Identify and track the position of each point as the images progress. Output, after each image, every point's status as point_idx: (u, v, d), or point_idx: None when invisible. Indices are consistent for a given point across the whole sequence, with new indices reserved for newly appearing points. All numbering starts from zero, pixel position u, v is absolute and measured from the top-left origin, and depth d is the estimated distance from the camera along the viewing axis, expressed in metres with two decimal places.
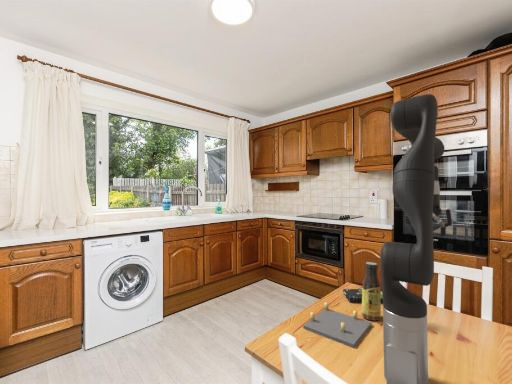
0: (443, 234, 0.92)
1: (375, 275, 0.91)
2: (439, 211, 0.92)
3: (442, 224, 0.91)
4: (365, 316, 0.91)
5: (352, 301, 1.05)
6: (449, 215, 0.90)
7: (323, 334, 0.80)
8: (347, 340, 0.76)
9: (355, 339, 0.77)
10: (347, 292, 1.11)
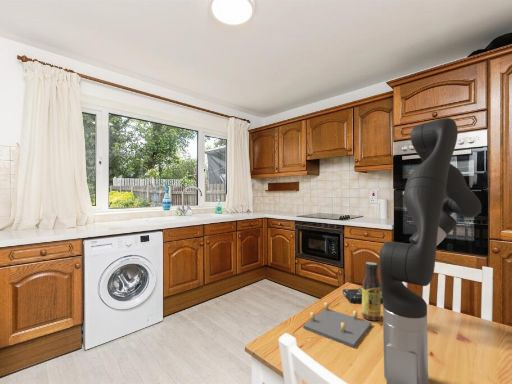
0: None
1: (375, 275, 0.91)
2: None
3: None
4: (365, 316, 0.91)
5: (353, 301, 1.05)
6: None
7: (323, 334, 0.80)
8: (347, 340, 0.76)
9: (355, 339, 0.77)
10: (347, 292, 1.11)
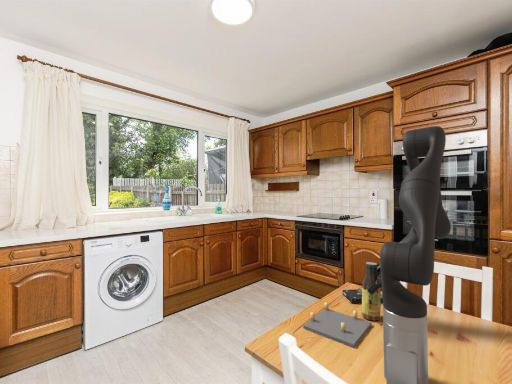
0: (370, 289, 0.89)
1: (375, 275, 0.91)
2: None
3: (376, 281, 0.89)
4: (365, 316, 0.91)
5: (354, 302, 1.04)
6: None
7: (323, 334, 0.80)
8: (347, 340, 0.76)
9: (355, 339, 0.77)
10: (347, 293, 1.10)
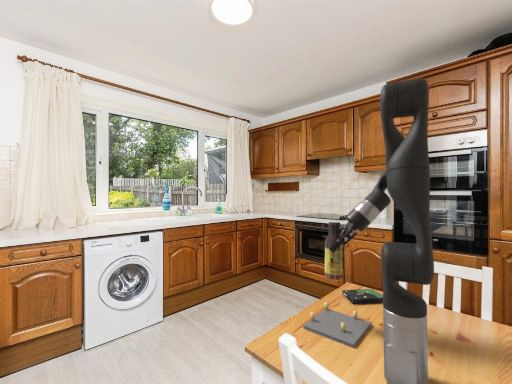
0: (331, 246, 0.86)
1: (337, 233, 0.88)
2: (349, 228, 0.86)
3: (338, 238, 0.86)
4: (327, 276, 0.88)
5: (355, 302, 1.04)
6: (347, 232, 0.83)
7: (323, 334, 0.80)
8: (347, 340, 0.76)
9: (355, 339, 0.77)
10: (347, 293, 1.10)
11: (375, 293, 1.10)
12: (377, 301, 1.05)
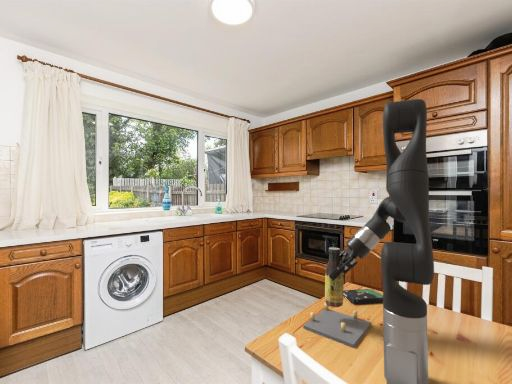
0: (331, 274, 0.86)
1: (337, 260, 0.88)
2: (349, 256, 0.86)
3: (338, 266, 0.86)
4: (327, 303, 0.88)
5: (356, 303, 1.03)
6: (347, 261, 0.83)
7: (323, 334, 0.80)
8: (347, 340, 0.76)
9: (355, 339, 0.77)
10: (348, 294, 1.09)
11: (375, 293, 1.10)
12: (377, 301, 1.05)
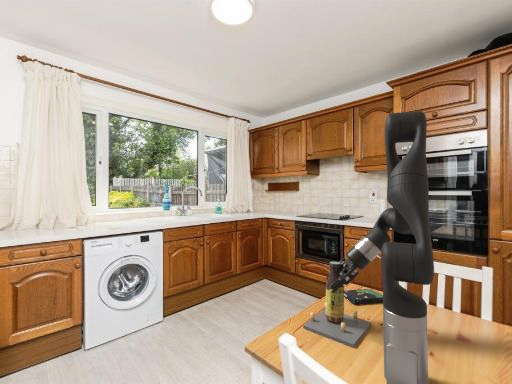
0: (333, 285, 0.85)
1: (338, 275, 0.88)
2: (349, 267, 0.85)
3: (339, 277, 0.85)
4: (328, 318, 0.88)
5: (356, 303, 1.03)
6: (348, 272, 0.83)
7: (323, 334, 0.80)
8: (347, 340, 0.76)
9: (355, 339, 0.77)
10: (348, 294, 1.09)
11: (375, 293, 1.10)
12: (377, 301, 1.05)
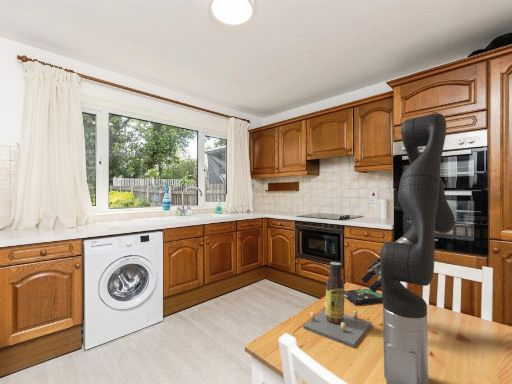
0: (372, 286, 0.84)
1: (338, 276, 0.88)
2: None
3: (379, 277, 0.84)
4: (328, 318, 0.88)
5: (357, 303, 1.03)
6: None
7: (323, 334, 0.80)
8: (347, 340, 0.76)
9: (355, 339, 0.77)
10: (348, 294, 1.09)
11: (374, 293, 1.10)
12: (378, 301, 1.05)
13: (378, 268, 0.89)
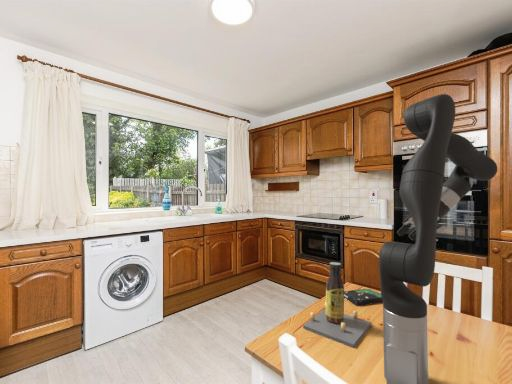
0: (412, 234, 0.82)
1: (338, 276, 0.88)
2: None
3: None
4: (328, 318, 0.88)
5: (358, 304, 1.02)
6: None
7: (323, 334, 0.80)
8: (347, 340, 0.76)
9: (355, 339, 0.77)
10: (349, 295, 1.08)
11: (374, 293, 1.10)
12: (378, 301, 1.05)
13: None
